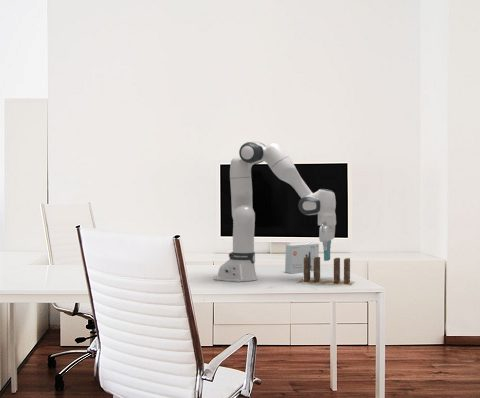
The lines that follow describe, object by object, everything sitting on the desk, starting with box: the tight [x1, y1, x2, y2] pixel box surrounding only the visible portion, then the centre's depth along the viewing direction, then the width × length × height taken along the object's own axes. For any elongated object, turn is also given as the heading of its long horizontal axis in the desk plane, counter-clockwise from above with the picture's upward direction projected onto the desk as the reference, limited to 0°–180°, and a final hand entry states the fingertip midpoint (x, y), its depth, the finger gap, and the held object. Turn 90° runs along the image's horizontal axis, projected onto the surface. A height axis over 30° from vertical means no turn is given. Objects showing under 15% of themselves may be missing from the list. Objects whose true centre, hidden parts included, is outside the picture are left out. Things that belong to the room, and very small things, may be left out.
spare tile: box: [323, 240, 331, 262], centre depth 315 cm, size 2×6×12 cm, turn 161°
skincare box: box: [284, 242, 320, 274], centre depth 360 cm, size 21×5×16 cm, turn 126°
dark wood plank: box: [303, 257, 311, 282], centre depth 319 cm, size 2×6×12 cm, turn 161°
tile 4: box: [313, 256, 321, 283], centre depth 317 cm, size 2×6×12 cm, turn 161°
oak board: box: [296, 278, 355, 286], centre depth 316 cm, size 27×12×1 cm, turn 71°
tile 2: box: [333, 257, 341, 284], centre depth 314 cm, size 2×6×12 cm, turn 161°
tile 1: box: [343, 257, 351, 284], centre depth 312 cm, size 2×6×12 cm, turn 161°
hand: (327, 249), depth 315 cm, fingers closed on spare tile, 6 cm apart
